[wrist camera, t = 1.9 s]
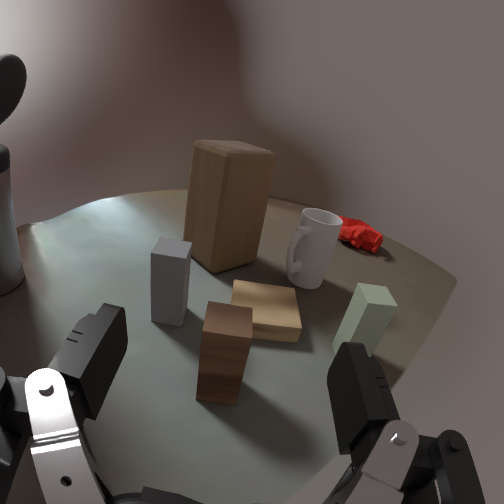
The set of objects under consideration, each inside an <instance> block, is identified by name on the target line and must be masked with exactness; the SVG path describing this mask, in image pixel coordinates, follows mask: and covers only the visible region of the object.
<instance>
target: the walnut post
mask: <svg viewBox="0 0 504 504" xmlns="http://www.w3.org/2000/svg"><path fill="white" fill-rule="evenodd" d="M252 326H253V308H250V307H243V306H237V305H230V304H224V303H217V302H211V301H208V305H207V310H206V315H205V320H204V325H203V330H202V339H201V349H200V359H199V370H198V382H197V394H196V400H198V401H205V402H211V403H218V404H226V405H234V406H235V404H236V400H237V396H238V393H239V389H240V385H241V381H242V377H243V373H244V369H245V366H246V362H247V358H248V354H249V350H250V346H251V342H252Z"/></svg>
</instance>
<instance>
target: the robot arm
mask: <svg viewBox="0 0 504 504" xmlns="http://www.w3.org/2000/svg"><path fill="white" fill-rule="evenodd" d="M26 75H27V74H26V68H25V65H24V63H23V62H22V60H21V59H20V58H19V57H17V56H15V55H13V54H0V124H1V123H2V122H4V121H5V119H7V118H8V117H9V116H10V115H11V113H12V112H13V111H14V110H15V108H16V107H17V105H18V103H19V101H20V99H21V97H22V95H23V92H24V89H25V85H26V77H27V76H26ZM23 278H24V270H23V264H22V260H21V255H20V250H19V244H18V239H17V232H16V226H15V218H14V210H13V202H12V191H11V178H10V155H9V150H8V148H7V147H6V146H4V145H2V144H0V295H4V294H6V293H9V292H10V291H12V290H14V289H15V288H16V287H18V286H19V285H20V283H21V282H22V280H23ZM127 344H128V336H127V326H126V316H125V309H124V308H123V307H119V306H115V305H111V304H107V303H104V304H103V305H102V306H101V308H100V309H99V310H98V312H97V313H96V315H94V314H88V315H87V316H85V317H84V318H82V319H81V320H79V321H78V323H77V324H76V325H75V327H74V328H73V330H72V332H71V333H70V334H69V336H68V337H67V340H65V341H64V343H63V344H62V346H61V347H60V349H59V350H58V352H57V353H56V355H55V356H54V358H53V359H52V361H51V362H50V364H49V366H48V367H47V368H46V369H41V370H38V371H36V372H34V373H32V374H31V375H30V376H29V377H28V378H19V377H11V376H6V374H5V372H4V370H3V369H2V368H1V367H0V504H5V503H6V500H7V497H8V494H9V491H10V488H11V485H12V482H13V479H14V476H15V473H16V470H17V468H18V465H19V462H20V459H21V457H22V454H23V452H24V449H25V447H26V444H27V442H28V439H29V437H30V436H34V442H33V443H31V452H32V457H33V461H34V464H35V468H36V472H37V475H38V479H39V482H40V485H41V488H42V491H43V495H44V497H45V500H46V503H47V504H203V503H200V502H197V501H195V500H192V499H190V498H187V497H185V496H182V495H180V494H176V493H171V492H166V491H162V490H157V489H153V488H149V487H145V486H143V490H142V493H138V492H136V493H125V494H120V495H116V496H114V495H113V492H112V490H111V488H110V486H109V484H108V482H107V480H106V479H105V477H104V475H103V473H102V471H101V469H100V466H99V464H98V462H97V459H96V457H95V454H94V452H93V449H92V446H91V444H90V441H89V438H88V436H87V433H86V430H85V427H84V425H83V422H84V420H85V418H89V419H92V420H95V421H96V418H97V416H98V413H99V411H100V409H101V406H102V404H103V402H104V399H105V397H106V395H107V393H108V390H109V388H110V386H111V384H112V381H113V379H114V377H115V375H116V372H117V370H118V368H119V366H120V364H121V362H122V360H123V357H124V355H125V353H126V350H127ZM327 386H328V391H329V396H330V401H331V407H332V412H333V418H334V424H335V429H336V435H337V441H338V447H339V453H340V455H345V454H351V460H352V462H351V464H350V465H349V467H348V468H347V470H346V471H345V473H344V475H343V476H342V477H341V479H340V480H339V482H338V483H337V485H336V486H335V488H334V489H333V490H332V492H331V493H330V495H329V496H328V497H327V499H326V500H325V501H324V502H323V503H322V504H439V500H438V496H437V491H436V486H435V482H434V481H435V480H436V479H437V483H438V487H439V492H440V496H441V504H485V500H484V496H483V492H482V489H481V485H480V482H479V478H478V475H477V472H476V469H475V466H474V462H473V459H472V456H471V453H470V450H469V447H468V444H467V442H466V440H465V438H464V437H463V436H462V435H461V434H460V433H459V432H457V431H454V430H446V431H444V432H442V433H441V435H439V437H437V438H434V437H428V436H423V435H418V433H417V431H416V430H415V428H414V427H413V426H412V425H411V424H409V423H407V422H405V421H401V420H400V417H399V414H398V412H397V409H396V406H395V403H394V400H393V397H392V394H391V391H390V389H389V388H388V383H387V380H386V379H385V375H384V372H383V370H382V367H381V366H380V364H379V363H378V362H377V361H376V360H375V359H374V357H368V354H367V351H366V349H365V346H364V344H363V343H356V342H342V343H341V345H340V347H339V349H338V351H337V354H336V356H335V358H334V360H333V362H332V364H331V366H330V368H329V371H328V375H327Z"/></svg>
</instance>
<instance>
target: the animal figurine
mask: <svg viewBox="0 0 504 504" xmlns="http://www.w3.org/2000/svg"><path fill="white" fill-rule="evenodd" d="M338 217H340V218H341V219H342V221H343V224H342V226H341V230H340V233H339V236H338V237H339V239H340V240H347V241H349V242H350V243H351V245H352V246H354V247H356V248H357V249H358V248H359V247H360V246H361V247H362V248H364V249H366V250H369V251H372V253H375V252H377V250H378V247H379V246H380V245H381V244H382V242H383V237H382V234H380V233H378V232H377V231H375V230H374V229H373V228H372V227H371V226H369V225H367V224H366V223H364V222H362V221H361V220H355V219H349V218H345V217H342V216H338Z"/></svg>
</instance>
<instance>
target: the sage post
mask: <svg viewBox="0 0 504 504" xmlns="http://www.w3.org/2000/svg"><path fill="white" fill-rule="evenodd" d="M397 307H398V306H397V304H396V302H395V301H394V299H393V297H392V296H391V294H390V292H389V291H388V289H387V287H384V286H377V285H370V284H363V283H358V284H357V287H356V289H355V292H354V294H353V297H352V299H351V301H350V304H349V306H348V309H347V311H346V313H345V316H344V318H343V320H342V322H341V325H340V327H339V329H338V331H337V334H336V336H335V338H334V340H333V342H332V346H333V350H334V354H335V356H336V354H337V351H338V349H339V347H340V345H341V343H342V342H356V343H363V344H364V346H365V349H366V351H367V354H368V357H371V355H372V353H373V352H374V350H375V348H376V346H377V345H378V343H379V341H380V339H381V337H382V336H383V334H384V332H385V330H386V328H387V326H388V324H389V322H390V320H391V319H392V317H393V315H394V313H395V311H396V309H397Z"/></svg>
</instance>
